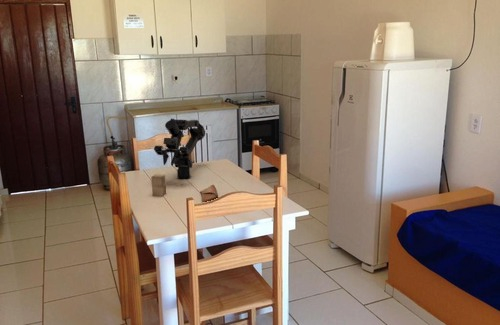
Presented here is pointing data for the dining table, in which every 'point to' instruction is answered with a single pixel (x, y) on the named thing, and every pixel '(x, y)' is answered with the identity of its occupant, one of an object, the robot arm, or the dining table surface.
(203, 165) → the dining table surface
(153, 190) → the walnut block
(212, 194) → the sunglasses case
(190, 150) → the robot arm
